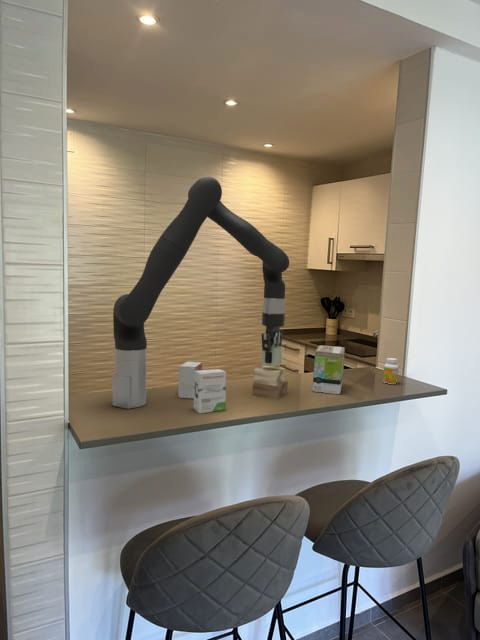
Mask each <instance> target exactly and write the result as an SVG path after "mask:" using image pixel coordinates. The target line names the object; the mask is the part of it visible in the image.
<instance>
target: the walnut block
mask: <svg viewBox="0 0 480 640" xmlns="http://www.w3.org/2000/svg"><path fill="white" fill-rule="evenodd" d="M287 393H288V381H287V380H285V381H284V382H282V383H280V384H279V385H277V386H272V385H266V384H259V383H254V382H252V396H256V395H257V396H256V397H262V396H263V398H269V399H274V400H278V399H280V398H282V397H283V396H285V395H286V394H287Z"/></svg>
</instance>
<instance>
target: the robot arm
mask: <svg viewBox="0 0 480 640" xmlns="http://www.w3.org/2000/svg"><path fill="white" fill-rule="evenodd" d="M222 195H223V188H222V186H221V183H220V182H219V181H218V179H217V178H214V177H211V176H204V177H200V178H199V179H198V180H196V181H195V182H194V183H192V185H191V187H189V190H188V193H187V198H188V199H187V201H186V202H185V203H184V205H183V207H182V209H181V210H180V212H179V213H178V214H177V215H176V217H175V218H174V219H173V220H172V221H171V222H170V223H169V225H168V226H166V228H165V230H164V231H163V232H162V234H161V235H160V236H159V238H158V240H156V241H157V242H156V243H155V244H154V246H153V247H152V249H151V251H150V253H149V256H148V257H147V261H146V263H145V265H144V269H143V272H142V275H141V276H140V278H139V280H138V281H137V283H136V284H135V286H134V287H133V288H132V290H131V291H130V292H129V293H126V294H122V295H120V296H119V297H118V298H117V299H116V301H115V302H114V305H113V309H112V310H113V313H112V314H113V315H112V316H113V318H112V319H113V320H112V322H113V339H114V374H113V375H112V406H113V407H118V408H122V409H127V410H129V409H134V408H141V407H143V406H145V405H146V404H147V356H148V355H147V352H148V351H147V349H148V348H147V346H148V344H147V342H148V340H147V336H146V334H145V323H146V321H147V320H148V319H149V317H150V315H151V313H152V311H153V310H154V306H155V305H156V303H157V301H158V298H159V297H160V295H161V293H162V291H163V289H164V288H165V286H166V285H167V284H168V283H169V281H170V280H171V279H172V276H173V275H174V274H175V272H176V271H177V269H178V268H179V266H180V265H181V263H182V261H183V260H184V259H185V256H186V255H187V253H188V251H189V249H190V248H191V247H192V245H193V243H194V241H195V239H196V236H197V235H198V232H199V231H200V229H201V227H202V226H203V224H204V222H205V221H206V220H207V218H208V219H210V220H211V221H212V222H213V223H215V224H217V226H219V227H220V228H222V229H223V230H224V231H225V232H227V233H228V235H230V236H231V237H233V239H235V241H237V242H238V243H239V245H241V246H242V247H243V248H244V249H245V250H246V251H248V252H249V254H251V255H253V256H255V257H258V258H259V259H260V260H261V261H262V264H261V265H262V266H261V267H262V274H263V275H262V279H263V284H264V287H263V301H262V309H261V310H262V312H261V325H262V326H264V327H265V333H261V347H262V349H261V350H263V351H265V363H272V350H273V346H282V345H283V344H282V341H283V335H284V330H283V329H281V328H282V327H284V326H285V318H286V316H285V315H286V301H285V299H286V284H285V281H283V273H284V272H285V271H287V270H288V269H289V266H290V259H289V256H288V255H287V254H286V252H285V251H284V250H282V249H281V248H280V247H278V246H277V245H276V244H274V242H272V241H270V240H269V239H267V238H266V236H265V235H263V234H262V232H260V231H259V229H257V228H256V227H255V225H253V224H252V223H250V222H249V221H247V220H246V219H244V218H242V217H240V215H237V214H236V213H234V212H233V211H231V210H230V209H229V208H228V207H226V205H225V204H224V203H223V202H222V201H221V199H222V197H223V196H222ZM280 327H281V328H280ZM270 345H271V347H270Z"/></svg>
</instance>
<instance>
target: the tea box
mask: <svg viewBox="0 0 480 640" xmlns="http://www.w3.org/2000/svg"><path fill="white" fill-rule="evenodd" d="M345 350H346V347H342V346H332V345H322V344H321V345H318V346H317V348H316V350H315V352H314V363H313V364H314V365H313V378H312V389H311V390H312V392H316V393H322V392H323V393H325V394H333V395H340V394H341V390H342V387H343V379H344V378H343V377H344V365H345V352H346V351H345Z"/></svg>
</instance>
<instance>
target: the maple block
mask: <svg viewBox="0 0 480 640" xmlns="http://www.w3.org/2000/svg"><path fill="white" fill-rule="evenodd" d="M284 381H286V368H284V367H279V366H268V365H261V366H260V367H257V368H255V369H253V383H259V384H266V385H272V386H277V385H279V384H280V383H282V382H284Z"/></svg>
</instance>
